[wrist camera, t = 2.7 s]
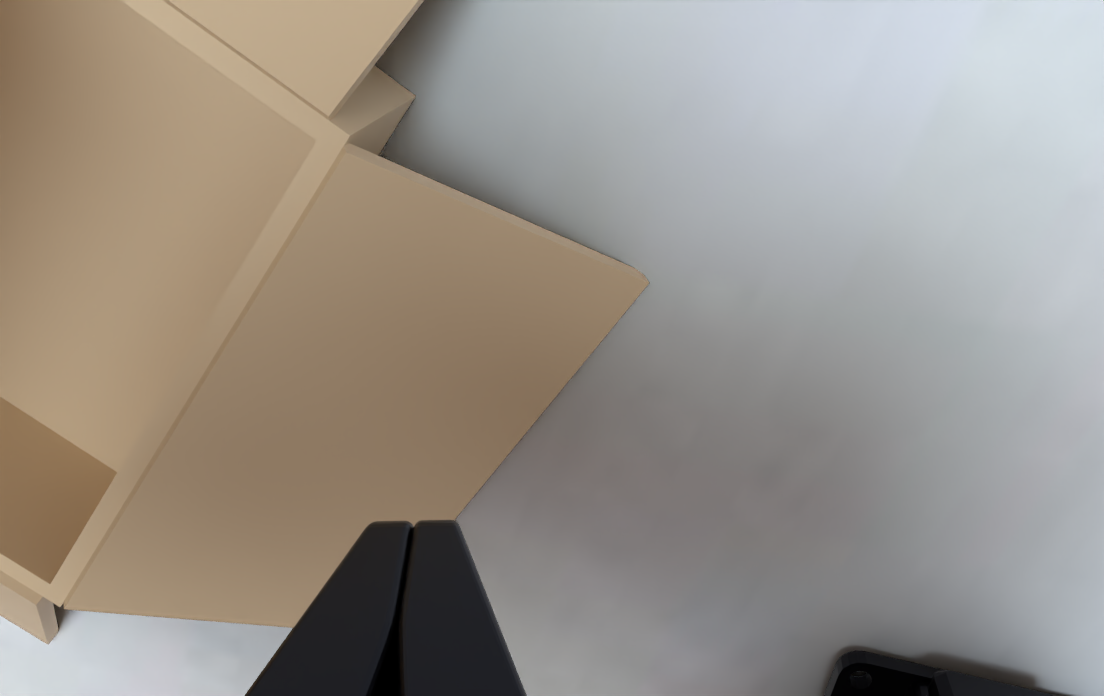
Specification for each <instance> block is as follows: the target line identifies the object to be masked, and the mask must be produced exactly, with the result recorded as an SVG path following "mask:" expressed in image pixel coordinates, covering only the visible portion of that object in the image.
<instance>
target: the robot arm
mask: <svg viewBox="0 0 1104 696" xmlns="http://www.w3.org/2000/svg"><path fill="white" fill-rule="evenodd" d="M857 671H864V672H866V673H867V674H866V675H863V676H861V677H854V676H852V675H851V674H852V673H855V672H857ZM245 696H527V695H526V693H525V690H524V688H523V685H522V683H521V680H520V678H519V675H518V673H517V670H516V668H515V665H514V663H513V660H512V657H511V655H510V652H509V650H508V647H507V645H506V642H505V640H504V637H503V635H502V632H501V630H500V627H499V625H498V622H497V620H496V617H495V614H494V612H493V609H492V607H491V604H490V602H489V599H488V597H487V594H486V592H485V589H484V587H483V584H482V582H481V579H480V577H479V574H478V571H477V569H476V566H475V564H474V561H473V559H472V556H471V554H470V551H469V549H468V546H467V544H466V541H465V539H464V536H463V534H462V531H461V528H460V526H459V524H458V523H457V522H456V521H454V520H421V521H418V522H417V523H416V524H415V526H413V524H412V523H410V522H409V521H375V522H372V523H370V524H369V525H368V526H367V527H366V528H365V529H364V531H363V532H362V533H361V535H360V536H359V538H358V539H357V540H356V542H355V543H354V544H353V546H352V547H351V549H350V550H349V551H348V553H347V554H346V556H345V557H344V558H343V560H342V561H341V563H340V564H339V565H338V567H337V568H336V569H335V571H334V572H333V574H332V575H331V576H330V578H329V579H328V581H327V582H326V583H325V585H324V586H323V588H322V589H321V590H320V592H319V593H318V594H317V596H316V597H315V599H314V600H313V601H312V603H311V604H310V606H309V607H308V608H307V610H306V611H305V612H304V614H303V615H302V617H301V618H300V619H299V621H298V622H297V624H296V625H295V626H294V628H293V629H292V631H291V632H290V633H289V635H288V636H287V637H286V639H285V640H284V642H283V643H282V644H281V646H280V647H279V649H278V650H277V651H276V653H275V654H274V656H273V657H272V658H271V660H270V661H269V662H268V664H267V665H266V667H265V668H264V669H263V671H262V672H261V674H260V675H259V676H258V678H257V679H256V681H255V682H254V683H253V685H252V686H251V687H250V689H249V690H248V692H247V693H246V694H245ZM824 696H1053V695H1051V694H1047V693H1043V692H1039V691H1035V690H1030V689H1026V688H1022V687H1018V686H1013V685H1009V684H1005V683H1000V682H996V681H992V680H988V679H983V678H979V677H975V676H971V675H966V674H962V673H958V672H954V671H949V670H942V669H938V668H933V667H929V666H925V665H921V664H916V663H912V662H908V661H903V660H899V659H895V658H891V657H886V656H882V655H878V654H874V653H869V652H865V651H852V652H848V653H846V654H844V655H843V656H841V657H840V658H839V660H838V661H837V663H836V665H835V668H834V670H833V673H832V675H831V678H830V680H829V683H828V686H827V688H826V691H825V693H824Z"/></svg>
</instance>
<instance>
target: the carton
mask: <svg viewBox="0 0 1104 696" xmlns="http://www.w3.org/2000/svg"><path fill="white" fill-rule="evenodd" d="M423 2H424V0H0V615H1V616H2V617H4V618H5V619H7V620H9V621H10V622H12V623H14V624H15V625H17V626H18V627H20V628H22V629H23V630H25V631H27V632H28V633H30V634H31V635H33V636H35V637H36V638H38V639H40V640H41V641H43V642H45V643H46V644H49V643H50V642H51V641H52V639H53V638H54V637H55V635H56V634H57V632H58V631H59V630H58V625H57V620H56V615H55V610H54V605H53V603H54V604H55V605H57V606H59V607H61V606H62V605H63V604H64V609H67V610H79V611H92V612H104V613H116V614H129V615H141V616H154V617H166V618H179V619H191V620H204V621H216V622H229V623H241V624H253V625H266V626H278V627H291V628H294V626H295V625H296V624H297V622H298V621H299V619H300V618H301V617H302V615H303V614H304V612H305V611H306V610H307V608H308V607H309V606H310V604H311V603H312V601H313V600H314V599H315V597H316V596H317V594H318V593H319V592H320V590H321V589H322V588H323V586H324V585H325V583H326V582H327V581H328V579H329V578H330V576H331V575H332V574H333V572H334V571H335V569H336V568H337V567H338V565H339V564H340V563H341V561H342V560H343V558H344V557H345V556H346V554H347V553H348V551H349V550H350V549H351V547H352V546H353V544H354V543H355V542H356V540H357V539H358V538H359V536H360V535H361V533H362V532H363V531H364V529H365V528H366V527H367V526H368V525H369V524H370V523H372V522H375V521H409V522H410V523H412V524H413V526H415V524H416V523H417V522H418V521H421V520H455V519H456V518H457V516H458V515H459V514H460V513H461V512H462V510H463V509H464V508H465V507H466V505H467V504H468V503H469V502H470V501H471V499H472V498H473V497H474V496H475V494H476V493H477V492H478V491H479V490H480V488H481V487H482V486H483V485H484V484H485V482H486V481H487V480H488V479H489V477H490V476H491V475H492V474H493V473H494V471H495V470H496V469H497V468H498V467H499V465H500V464H501V463H502V462H503V460H504V459H505V458H506V457H507V456H508V454H509V453H510V452H511V451H512V450H513V448H514V447H515V446H516V445H517V443H518V442H519V441H520V440H521V439H522V437H523V436H524V435H525V434H526V432H527V431H528V430H529V429H530V428H531V426H532V425H533V424H534V423H535V422H536V420H537V419H538V418H539V417H540V415H541V414H542V413H543V412H544V411H545V409H546V408H547V407H548V406H549V405H550V403H551V402H552V401H553V400H554V398H555V397H556V396H557V395H558V394H559V392H560V391H561V390H562V389H563V388H564V386H565V385H566V384H567V383H568V381H569V380H570V379H571V378H572V377H573V375H574V374H575V373H576V372H577V370H578V369H579V368H580V367H581V366H582V364H583V363H584V362H585V361H586V360H587V358H588V357H589V356H590V355H591V353H592V352H593V351H594V350H595V349H596V347H597V346H598V345H599V344H600V343H601V341H602V340H603V339H604V338H605V336H606V335H607V334H608V333H609V332H610V330H611V329H612V328H613V327H614V325H615V324H616V323H617V322H618V321H619V319H620V318H621V317H622V316H623V315H624V313H625V312H626V311H627V310H628V308H629V307H630V306H631V305H632V304H633V302H634V301H635V300H636V299H637V298H638V296H639V295H640V294H641V293H642V291H643V290H644V289H645V288H646V287H647V285H648V284H649V282H648V280H647V279H646V277H645V276H644V275H643V274H642V273H641V272H639V271H638V270H636V269H635V268H633V267H631V266H629V265H626V264H624V263H622V262H619V261H617V260H615V259H613V258H610V257H608V256H606V255H603V254H601V253H599V252H597V251H594V250H592V249H590V248H587V247H585V246H583V245H581V244H578V243H576V242H574V241H572V240H569V239H567V238H565V237H562V236H560V235H558V234H556V233H553V232H551V231H549V230H546V229H544V228H542V227H540V226H537V225H535V224H533V223H531V222H528V221H526V220H524V219H521V218H519V217H517V216H515V215H512V214H510V213H508V212H505V211H503V210H501V209H499V208H496V207H494V206H492V205H489V204H487V203H485V202H483V201H480V200H478V199H476V198H474V197H471V196H469V195H467V194H464V193H462V192H460V191H458V190H455V189H453V188H451V187H448V186H446V185H444V184H442V183H439V182H437V181H435V180H432V179H430V178H428V177H426V176H423V175H421V174H419V173H417V172H414V171H412V170H410V169H407V168H405V167H403V166H401V165H398V164H396V163H394V162H391V161H389V160H387V159H385V158H382V157H380V156H378V155H379V153H380V152H381V150H382V149H383V147H384V146H385V144H386V142H387V141H388V139H389V138H390V136H391V135H392V133H393V131H394V130H395V128H396V127H397V125H398V124H399V122H400V120H401V119H402V117H403V116H404V114H405V113H406V111H407V109H408V108H409V106H410V105H411V103H412V102H413V100H414V98H415V97H416V96H415V95H414V94H413V93H411V92H410V91H408V90H407V89H406V88H404V87H403V86H402V85H400V84H399V83H398V82H396V81H395V80H394V79H392V78H391V77H389V76H388V75H387V74H385V73H384V72H383V71H381V70H380V69H379V68H377V67H376V66H374V65H375V64H376V62H377V61H378V60H379V59H380V57H381V56H382V55H383V53H384V52H385V51H386V49H387V48H388V47H389V46H390V44H391V43H392V42H393V40H394V39H395V38H396V36H397V35H398V34H399V33H400V31H401V30H402V29H403V27H404V26H405V25H406V24H407V22H408V21H409V20H410V18H411V17H412V16H413V14H414V13H415V12H416V11H417V9H418V8H419V7H420V5H421V4H422V3H423Z"/></svg>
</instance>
